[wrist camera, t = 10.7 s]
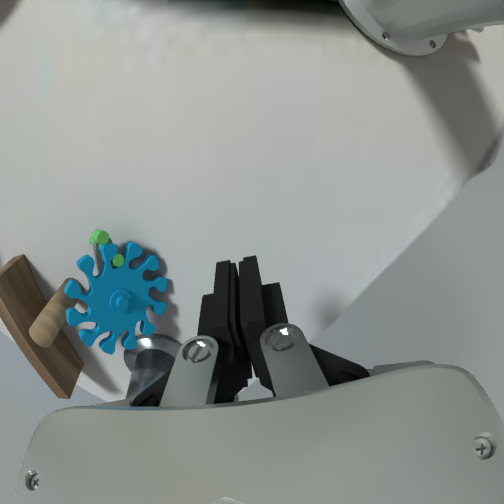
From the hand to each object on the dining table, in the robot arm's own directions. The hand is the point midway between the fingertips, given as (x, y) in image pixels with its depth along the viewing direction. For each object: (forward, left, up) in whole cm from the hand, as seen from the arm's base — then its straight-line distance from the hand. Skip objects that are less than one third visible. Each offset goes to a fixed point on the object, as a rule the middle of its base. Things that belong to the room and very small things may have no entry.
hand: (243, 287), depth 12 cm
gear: (+11, +4, -13) cm, 18 cm away
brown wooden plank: (+24, +8, -13) cm, 28 cm away
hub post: (+12, +16, -13) cm, 24 cm away
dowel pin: (+18, +5, -13) cm, 23 cm away
